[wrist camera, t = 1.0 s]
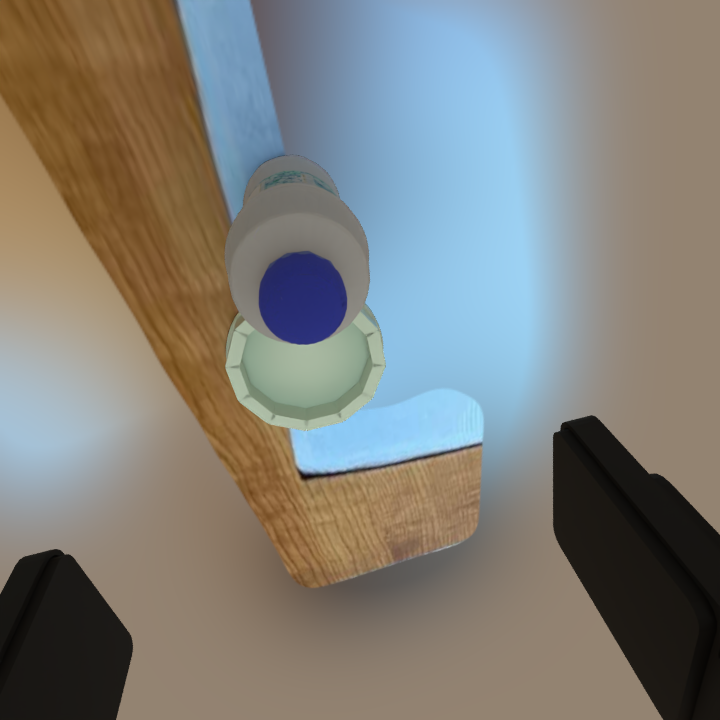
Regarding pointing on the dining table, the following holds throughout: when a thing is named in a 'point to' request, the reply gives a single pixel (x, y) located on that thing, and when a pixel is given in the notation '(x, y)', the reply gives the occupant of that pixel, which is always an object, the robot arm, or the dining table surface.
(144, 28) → the dining table surface
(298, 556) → the dining table surface
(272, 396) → the dish
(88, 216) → the dining table surface
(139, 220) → the dining table surface
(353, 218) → the bottle
